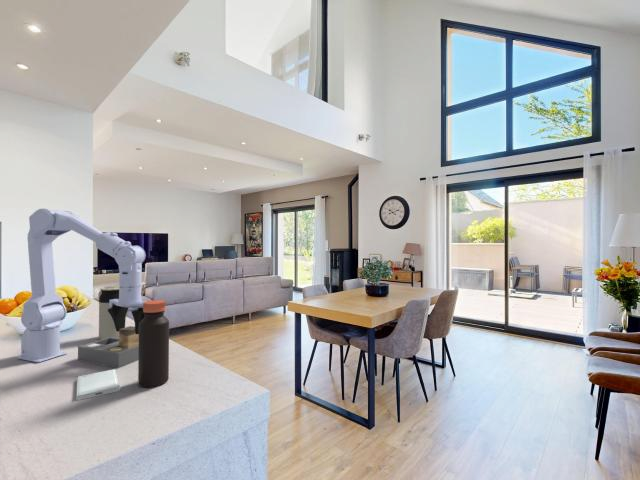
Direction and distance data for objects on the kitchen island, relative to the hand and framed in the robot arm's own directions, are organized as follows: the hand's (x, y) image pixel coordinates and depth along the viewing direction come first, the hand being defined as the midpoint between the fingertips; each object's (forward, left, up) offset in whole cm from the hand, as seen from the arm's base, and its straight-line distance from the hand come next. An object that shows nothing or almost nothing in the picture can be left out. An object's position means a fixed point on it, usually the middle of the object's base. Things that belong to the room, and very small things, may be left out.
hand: (129, 332), depth 97 cm
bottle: (+20, -10, -8) cm, 23 cm away
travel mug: (-23, +13, -8) cm, 28 cm away
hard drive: (+8, -16, -9) cm, 20 cm away
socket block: (-4, 0, -8) cm, 9 cm away
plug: (0, 0, -7) cm, 7 cm away
